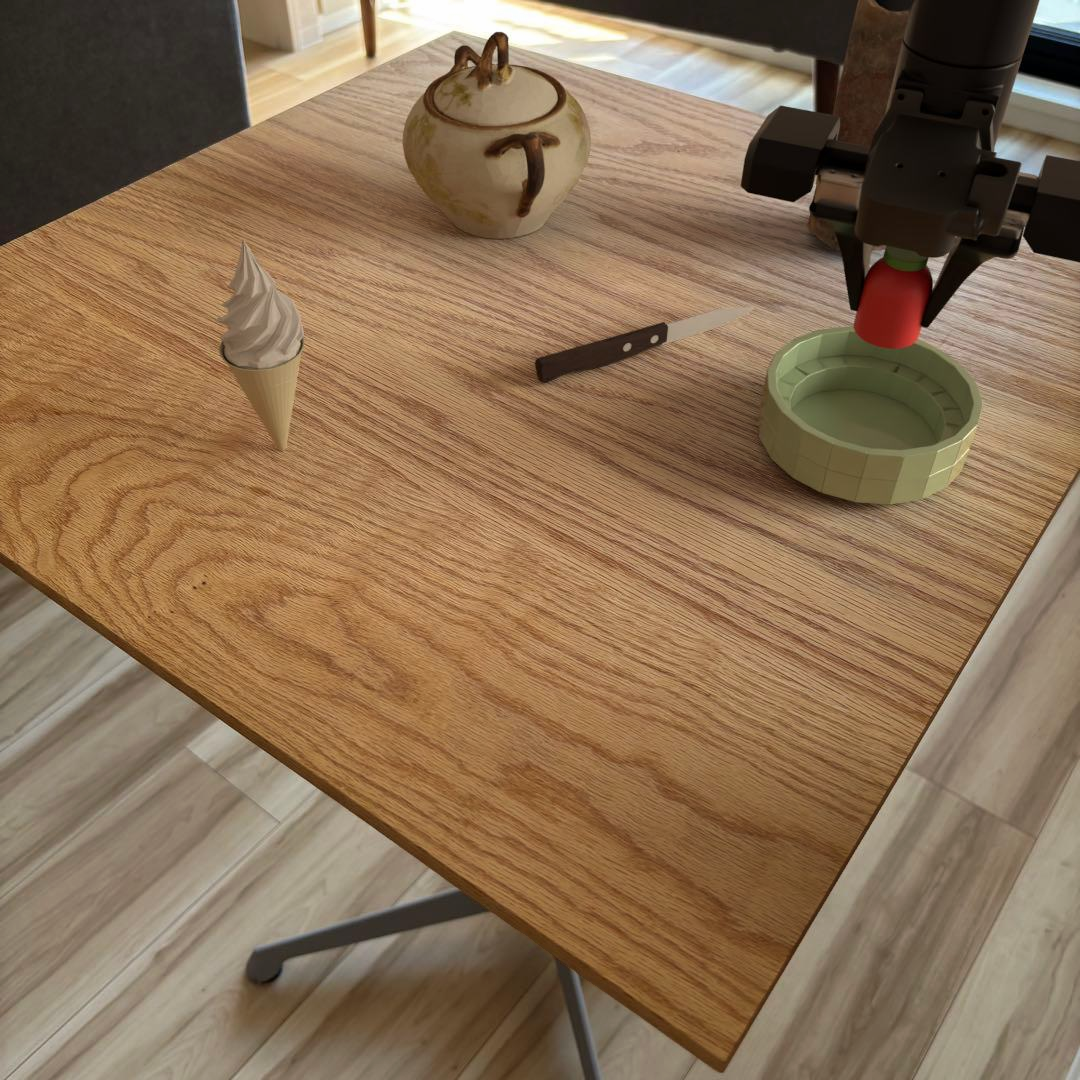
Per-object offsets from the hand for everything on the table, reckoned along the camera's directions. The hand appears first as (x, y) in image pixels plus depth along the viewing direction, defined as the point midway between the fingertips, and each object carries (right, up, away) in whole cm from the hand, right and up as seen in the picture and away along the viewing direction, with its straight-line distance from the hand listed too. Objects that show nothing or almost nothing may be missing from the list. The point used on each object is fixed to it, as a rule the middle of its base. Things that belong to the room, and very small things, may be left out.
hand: (889, 315), depth 66 cm
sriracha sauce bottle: (0, -1, +1) cm, 1 cm away
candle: (+5, +11, +26) cm, 29 cm away
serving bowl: (0, -7, +8) cm, 10 cm away
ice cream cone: (-37, -7, +7) cm, 39 cm away
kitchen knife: (-13, 0, +15) cm, 20 cm away
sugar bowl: (-24, +14, +29) cm, 40 cm away
